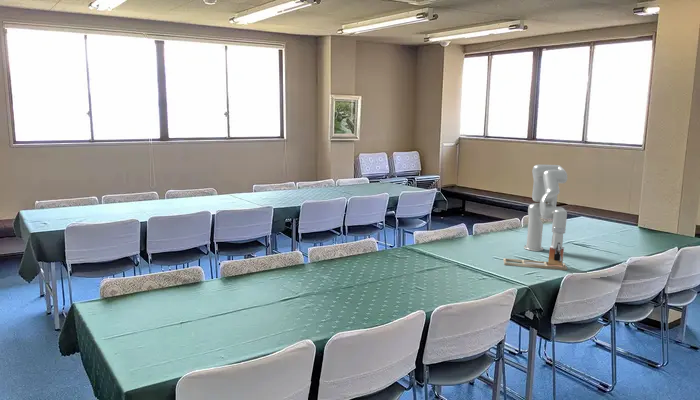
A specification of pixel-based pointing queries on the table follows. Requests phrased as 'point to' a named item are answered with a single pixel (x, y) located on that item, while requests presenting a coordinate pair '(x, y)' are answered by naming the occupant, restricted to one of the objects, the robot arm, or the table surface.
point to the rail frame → (534, 264)
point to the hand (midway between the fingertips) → (555, 258)
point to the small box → (551, 256)
